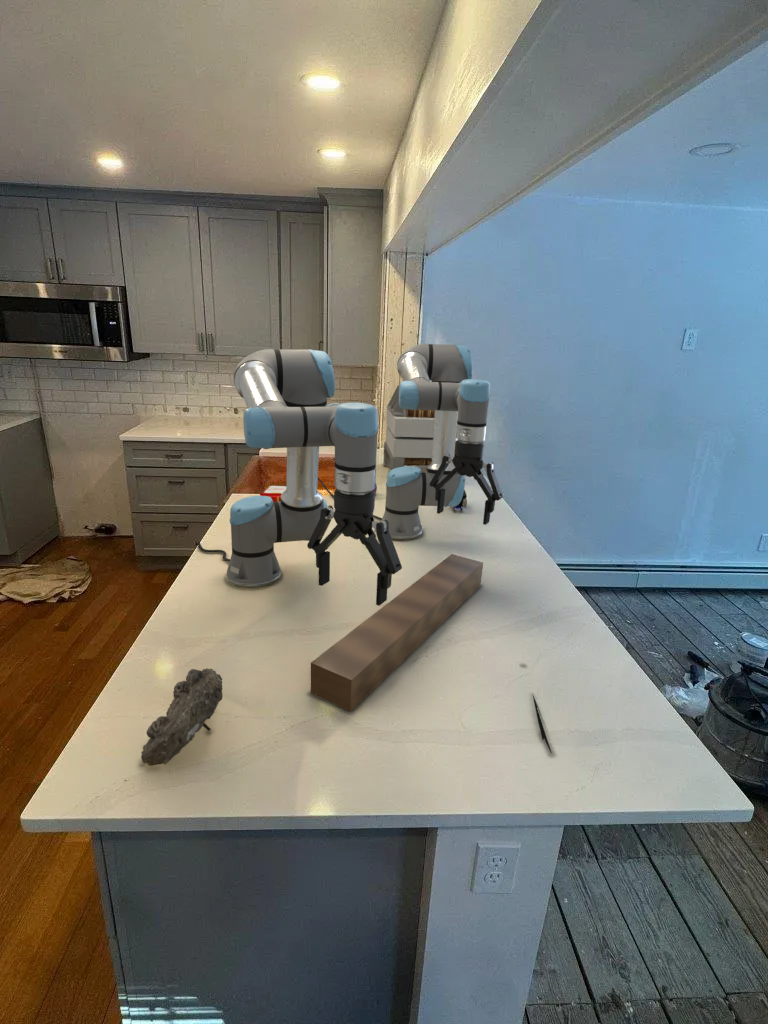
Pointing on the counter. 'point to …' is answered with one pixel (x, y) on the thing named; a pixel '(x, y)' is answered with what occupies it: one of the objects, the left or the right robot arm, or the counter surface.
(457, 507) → the figurine character
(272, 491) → the toy
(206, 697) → the fossil
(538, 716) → the feather
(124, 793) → the counter surface
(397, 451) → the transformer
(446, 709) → the counter surface
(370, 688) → the thick board
